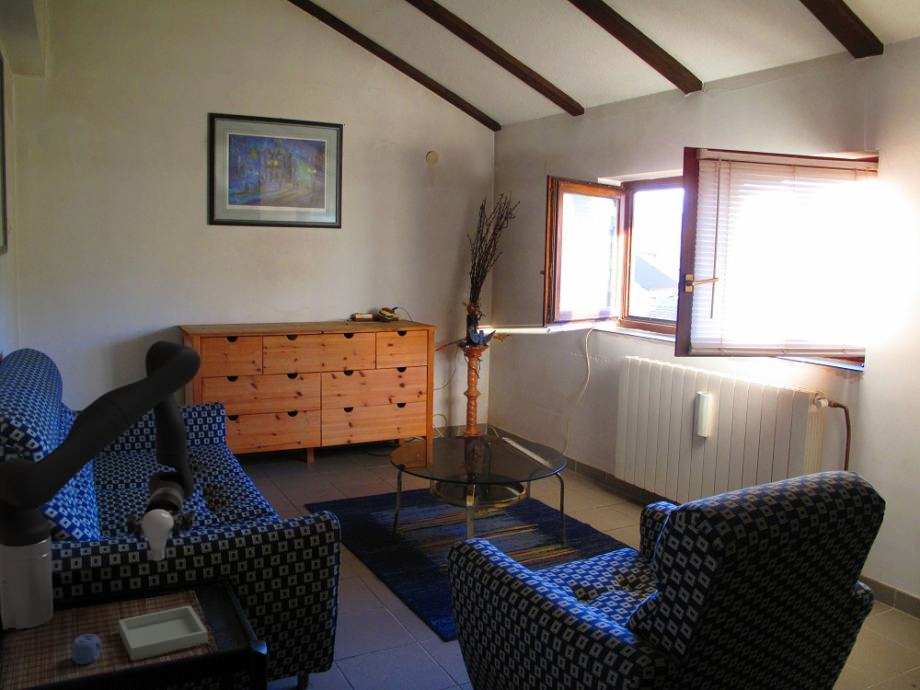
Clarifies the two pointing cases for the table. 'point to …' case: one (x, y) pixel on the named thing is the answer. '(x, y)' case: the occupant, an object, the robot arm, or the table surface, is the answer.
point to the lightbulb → (157, 531)
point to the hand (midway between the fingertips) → (156, 534)
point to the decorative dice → (86, 649)
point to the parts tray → (161, 632)
